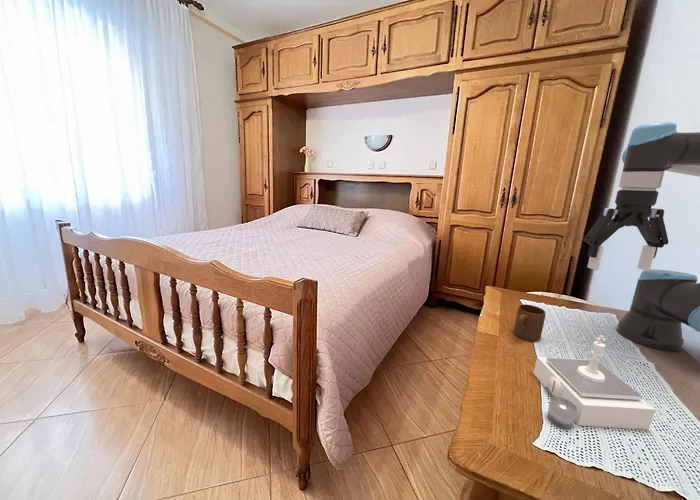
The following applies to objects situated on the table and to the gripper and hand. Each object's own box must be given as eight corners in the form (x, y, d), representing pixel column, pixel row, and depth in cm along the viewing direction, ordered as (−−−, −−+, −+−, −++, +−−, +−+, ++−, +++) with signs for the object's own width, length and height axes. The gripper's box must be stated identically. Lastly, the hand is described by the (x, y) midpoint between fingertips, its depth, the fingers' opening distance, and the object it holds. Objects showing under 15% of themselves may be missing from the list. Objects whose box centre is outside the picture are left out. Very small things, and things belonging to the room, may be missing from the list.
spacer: (559, 411, 62) (563, 395, 61) (578, 427, 58) (582, 411, 57) (542, 413, 62) (545, 397, 61) (559, 430, 57) (563, 413, 56)
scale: (588, 376, 74) (593, 358, 72) (648, 429, 58) (656, 407, 57) (531, 373, 74) (535, 355, 73) (575, 425, 59) (581, 403, 57)
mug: (527, 349, 85) (533, 320, 83) (502, 337, 91) (507, 310, 89) (544, 337, 92) (550, 310, 90) (519, 327, 98) (524, 302, 96)
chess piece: (610, 384, 62) (622, 343, 60) (584, 380, 63) (595, 340, 60) (596, 370, 67) (607, 331, 64) (572, 366, 68) (582, 328, 65)
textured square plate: (595, 363, 71) (596, 360, 70) (641, 399, 59) (642, 396, 59) (546, 360, 71) (546, 357, 71) (581, 396, 59) (582, 393, 59)
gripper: (672, 189, 76) (650, 265, 81) (577, 188, 76) (561, 264, 81) (705, 190, 69) (679, 274, 74) (600, 189, 69) (582, 272, 74)
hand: (617, 269), depth 78 cm, fingers open, 13 cm apart
